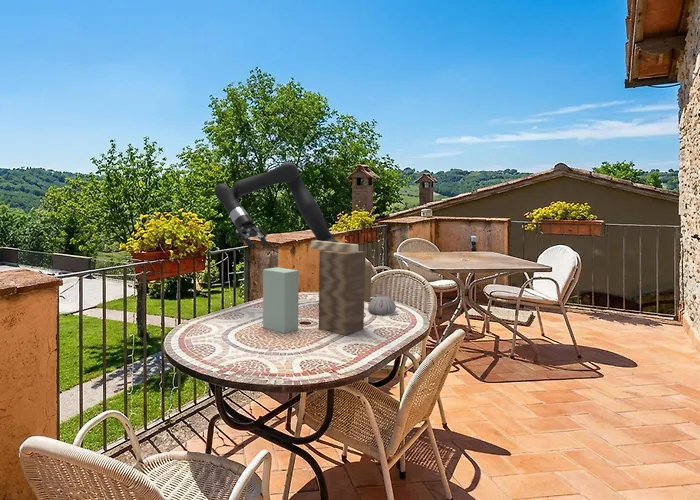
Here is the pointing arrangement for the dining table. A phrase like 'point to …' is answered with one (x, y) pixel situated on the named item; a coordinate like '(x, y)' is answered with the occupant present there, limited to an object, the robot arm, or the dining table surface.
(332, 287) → the walnut pillar
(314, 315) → the dining table surface
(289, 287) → the sage pedestal
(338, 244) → the oak rod
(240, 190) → the robot arm
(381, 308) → the sea urchin shell
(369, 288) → the wooden block
